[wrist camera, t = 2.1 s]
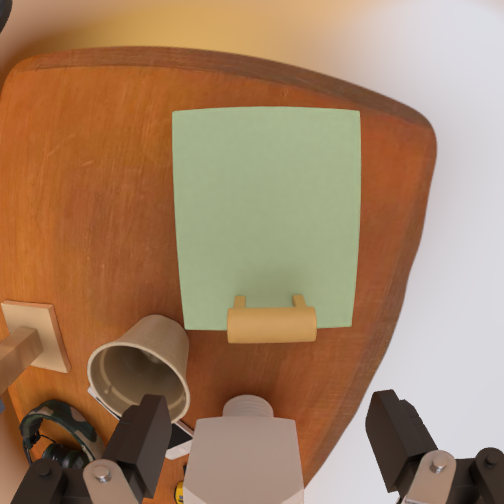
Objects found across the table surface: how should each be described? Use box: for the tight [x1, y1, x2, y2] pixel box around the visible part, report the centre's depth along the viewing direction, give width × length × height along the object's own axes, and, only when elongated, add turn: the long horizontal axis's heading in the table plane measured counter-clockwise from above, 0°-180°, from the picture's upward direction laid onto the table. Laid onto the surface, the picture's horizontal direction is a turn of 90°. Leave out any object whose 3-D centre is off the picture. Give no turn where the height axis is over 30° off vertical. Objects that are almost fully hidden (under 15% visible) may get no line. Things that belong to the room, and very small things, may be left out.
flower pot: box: [87, 315, 190, 424], centre depth 27 cm, size 9×9×9 cm
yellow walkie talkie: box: [174, 465, 187, 504], centre depth 38 cm, size 5×2×15 cm
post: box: [0, 300, 71, 395], centre depth 26 cm, size 9×9×12 cm
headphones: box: [19, 400, 106, 469], centre depth 33 cm, size 13×13×20 cm
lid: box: [172, 107, 361, 343], centre depth 18 cm, size 15×12×6 cm
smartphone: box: [87, 385, 194, 460], centre depth 34 cm, size 7×16×1 cm, turn 38°
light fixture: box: [183, 395, 304, 504], centre depth 24 cm, size 9×9×20 cm
